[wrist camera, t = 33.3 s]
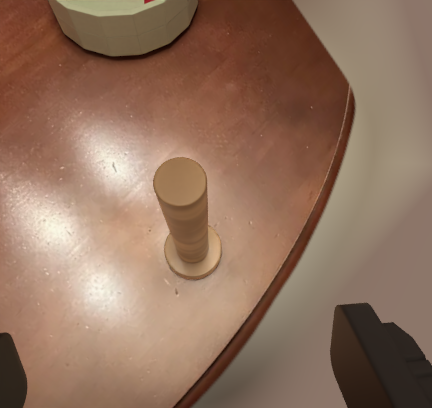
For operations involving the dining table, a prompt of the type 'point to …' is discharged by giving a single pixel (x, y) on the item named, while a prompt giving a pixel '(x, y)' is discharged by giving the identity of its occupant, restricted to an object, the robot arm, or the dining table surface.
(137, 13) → the bowl
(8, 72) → the dining table surface
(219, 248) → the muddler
